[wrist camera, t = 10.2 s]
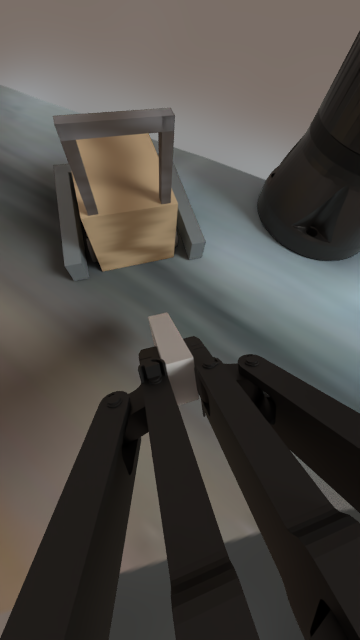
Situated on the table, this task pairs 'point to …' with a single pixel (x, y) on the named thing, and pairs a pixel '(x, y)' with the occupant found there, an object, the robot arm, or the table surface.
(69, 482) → the robot arm
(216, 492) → the table surface
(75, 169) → the cart
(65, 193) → the frame
